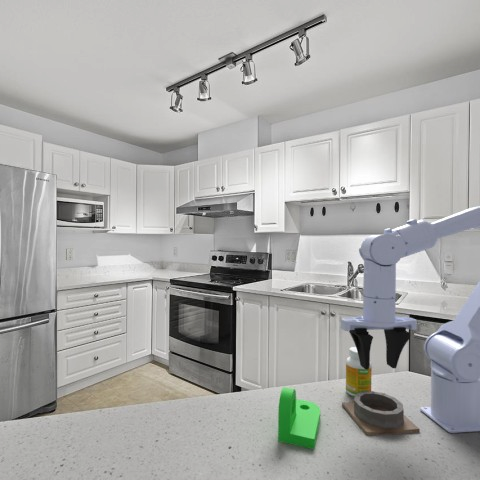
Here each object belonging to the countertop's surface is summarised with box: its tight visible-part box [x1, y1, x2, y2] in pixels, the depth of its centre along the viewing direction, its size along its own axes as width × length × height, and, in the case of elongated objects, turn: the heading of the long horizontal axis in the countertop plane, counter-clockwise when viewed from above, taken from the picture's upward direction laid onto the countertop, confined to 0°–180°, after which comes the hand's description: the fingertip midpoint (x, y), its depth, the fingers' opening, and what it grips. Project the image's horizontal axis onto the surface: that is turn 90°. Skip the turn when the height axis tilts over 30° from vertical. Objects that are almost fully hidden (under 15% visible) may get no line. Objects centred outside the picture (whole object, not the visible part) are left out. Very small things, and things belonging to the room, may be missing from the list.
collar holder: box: [341, 390, 421, 436], centre depth 61 cm, size 10×10×3 cm
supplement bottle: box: [345, 346, 373, 398], centre depth 71 cm, size 5×5×10 cm
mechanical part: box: [277, 386, 321, 450], centre depth 58 cm, size 12×6×8 cm, turn 160°
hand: (378, 366), depth 61 cm, fingers open, 5 cm apart
